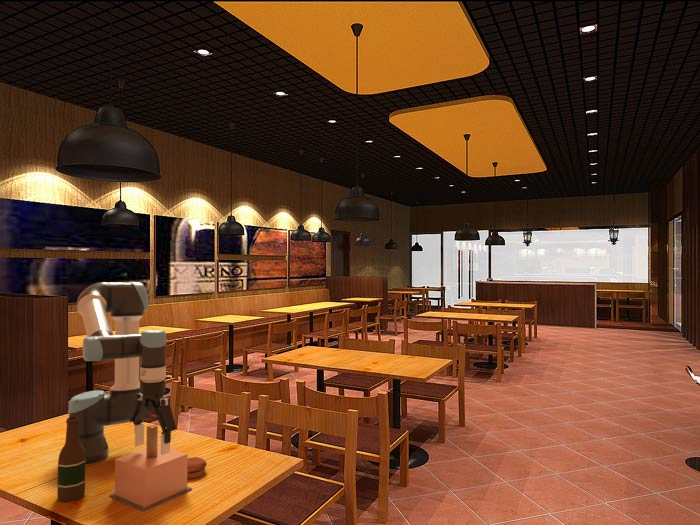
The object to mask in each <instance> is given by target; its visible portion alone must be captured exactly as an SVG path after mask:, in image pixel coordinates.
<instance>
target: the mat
mask: <svg viewBox="0 0 700 525" xmlns="http://www.w3.org/2000/svg"><path fill="white" fill-rule="evenodd" d="M192 490H193V487H190V486H188V485H187V489H185V490H182V491H180V492H178V493H176V494H174V495H171V496H169V497H167V498H165V499H162V500H160V501H158V502H156V503H154V504H151V505H149V506H147V507H142V506H140V505H138V504H135V503H133V502H131V501H128V500H126V499H124V498H122V497H119V496H117V495H115V492H114V493H111V494H109V497H110V498H112V499H115V500H116V501H119V502H121V503H123V504H126V505H127V506H128V505H129V506H131V507H132V508H134V509H137V510H139V511H141V512H146V511H148V510H150V509H153V508H155V507H157V506H159V505H162V504H164V503H166V502H168V501H170V500H172V499H174V498H176V497H179V496H181V495H183V494H185V493H187V492H190V491H192Z"/></svg>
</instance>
